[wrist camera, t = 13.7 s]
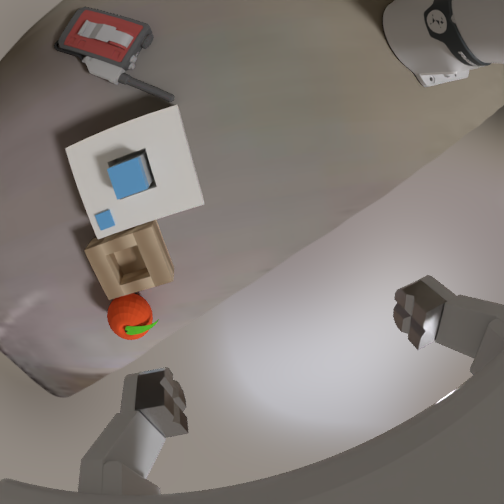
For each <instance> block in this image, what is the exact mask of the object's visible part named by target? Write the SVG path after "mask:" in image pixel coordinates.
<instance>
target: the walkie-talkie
mask: <svg viewBox="0 0 504 504" xmlns="http://www.w3.org/2000/svg"><path fill="white" fill-rule="evenodd" d="M152 40H153V35H152V31H151V29H150V26H149V25H148V24H146V23H143V22H140V21H137V20H134V19H131V18H127V17H124V16H118V15H115V14H112V13H108V12H105V11H102V10H98V9H97V10H96V9H92V8H89V7H83V8H80V9H78V10H77V11H76V13H75V14H74V16H73V17H72V19H71V20H70V22H69V23H68V25H67V27H66V28H65V30H64V31H63V33H62V35H61V36H60V38H59V40H58V41H57V42H56V43H55V45H54V48H55V49H56V50H58V51H60V52H64V53H67V54H71V55H74V56H77V57H79V58H80V60H82V62H83V63H85V64H86V65H87V68H88V70H89V72H90V74H92V75H94V76H97V77H100V78H103V79H105V80H108V81H109V82H110V83H112V84H115V85H118V83H119V82H120V83H122V84H128V85H131V86H133V87H136V88H138V89H140V90H143V91H145V92H148V93H150V94H152V95H155V96H157V97H159V98H161V99H164V100H166V101H168V102H172V101H173V100H174V95H173V94H170V93H168V92H166V91H163V90H161V89H159V88H156V87H154V86H152V85H149V84H147V83H144V82H142V81H139V80H137V79H134V78H132V77H131V76H130V75H128V74H125V73H124V72H125V71H126V70H129V69H132V70H133V69H134V68H135V65H136V64H134V62H135V61H136V59H137V56H138V54H139V52H140V51H141V49H142V48H144V49H146V48H147V47H149V45H150V44H151V42H152ZM58 45H59V46H60V48H62V49H60V48H58ZM81 55H82V56H81ZM83 56H86V57H85V58H83Z"/></svg>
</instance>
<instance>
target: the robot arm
mask: <svg viewBox="0 0 504 504" xmlns="http://www.w3.org/2000/svg"><path fill="white" fill-rule="evenodd" d="M383 27H384V32H385V35H386V38H387V40H388V43H389V45H390V47H391V48H392V50H393V52H394V53H395V55H396V56H397V57H398V59H399V60H400V61H401V62H402V63H403V64H404V65H405V66H406V67H408V68H409V69H410V70H411V71H412V72H413V73H414V74H415V75H416V77H417V78H418V80H419V82H420V83H421V84H422V85H423V86H424V87H428V86H433V85H437V84H441V83H445V82H450V81H454V80H459V79H463V78H467V77H468V74H469V70H470V69H477V68H479V67H482V66H487V65H490V64H491V63H503V64H504V0H394V1H393V2H392V3H391V4H389V5H388V6H387V7H386V9H385V11H384V14H383ZM395 300H396V301H397V304H396V306H395V307H394V312H393V313H394V314H393V317H394V320H395V323H396V325H397V327H398V328H399V329H400V331H401V332H404V333H408V339H409V341H410V342H411V343H412V344H413V345H414V346H415V347H416V349H417V350H419V349H421V348H423V347H425V346H427V345H429V344H430V343H432V342H434V341H435V342H437V343H439V344H441V345H444V346H446V347H448V348H451V349H453V350H455V351H458V352H460V353H463V354H465V355H468V356H470V357H472V358H474V361H473V363H472V365H471V368H470V372H471V373H472V374H473V376H472V377H471V378H469V379H468V380H467V381H466V382H464V383H463V384H462V385H460V386H459V387H458V388H456V389H455V390H454V391H452V392H451V393H449V394H448V395H447V396H445V397H443V398H442V399H440V400H439V401H438V402H436V403H434V404H433V405H431V406H430V407H429V408H427V409H425V410H424V411H422V412H420V413H419V414H417V415H416V416H414V417H412V418H411V419H409V420H407V421H405V422H403V423H402V424H400V425H398V426H396V427H394V428H392V429H391V430H389V431H387V432H385V433H383V434H381V435H379V436H377V437H375V438H373V439H371V440H369V441H367V442H365V443H362V444H360V445H358V446H356V447H354V448H351V449H349V450H347V451H344V452H342V453H340V454H337V455H335V456H332V457H329V458H327V459H324V460H322V461H319V462H316V463H313V464H310V465H308V466H305V467H302V468H299V469H296V470H292V471H289V472H286V473H282V474H279V475H275V476H272V477H268V478H264V479H260V480H256V481H252V482H247V483H243V484H238V485H233V486H227V487H222V488H216V489H209V490H202V491H195V492H186V493H175V494H163V495H162V494H161V491H160V488H159V487H158V486H157V485H155V484H153V483H151V482H150V481H148V480H147V479H146V478H147V476H148V474H149V472H150V470H151V468H152V466H153V464H154V462H155V460H156V458H157V456H158V454H159V452H160V450H161V448H162V446H163V444H164V442H165V439H166V437H172V436H177V435H182V434H187V433H188V423H187V417H186V416H185V414H184V413H183V411H184V410H185V408H186V400H185V396H184V392H183V390H182V388H181V386H180V384H179V383H178V382H177V381H175V380H173V374H172V372H171V371H170V369H169V368H167V367H165V368H160V369H155V370H150V371H144V372H140V373H135V374H129V375H127V376H126V377H125V379H124V387H123V393H122V401H121V410H120V413H117V414H116V415H115V416H114V417H113V419H112V420H111V422H110V423H109V424H108V425H107V427H106V428H105V429H104V431H103V432H102V433H101V435H100V436H99V437H98V438H97V440H96V441H95V442H94V444H93V445H92V446H91V448H90V449H89V450H88V452H87V453H86V454H85V456H84V457H83V458H82V459H81V466H80V476H79V488H78V492H72V491H65V490H58V489H52V488H47V487H42V486H37V485H32V484H28V483H23V482H19V481H16V480H12V479H2V480H1V481H0V504H504V305H502V304H498V303H494V302H489V301H484V300H480V299H476V298H472V297H468V296H463V295H458V296H456V295H455V294H454V293H452V292H451V291H450V290H449V289H447V288H446V287H445V286H444V285H442V284H441V283H440V282H438V281H437V280H436V279H435V278H433V277H432V276H429V275H427V276H425V277H423V278H421V279H419V280H418V281H415V282H413V283H411V284H409V285H407V286H404V287H402V288H400V289H398V290H397V291H396V293H395Z"/></svg>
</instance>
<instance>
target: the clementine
mask: <svg viewBox="0 0 504 504" xmlns="http://www.w3.org/2000/svg"><path fill="white" fill-rule="evenodd" d="M107 318H108V322H109V325H110V327H111V329H112V330H113V331H114V333H115V334H117V335H118V336H119V337H121V338H124V339H127V340H133V339H138V338H141V337H142V336H144V335H145V334H146V333H147V332H148V331H149V329H150V328H152V327H153V326H154V325H155V324H156V323H157V321H158V320H159V319H158V320H157V321H156V322H155V323H152V320H153V318H152V310H151V308H150V306H149V304H148V303H147V301H146V300H145V299H144V298H143V297H141V296H139V295H137V294H134V293H131V294H128V295H125V296H121V297H118V298H115V299H114V300H112V302H111V304H110V306H109V308H108V314H107Z"/></svg>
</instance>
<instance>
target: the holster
mask: <svg viewBox="0 0 504 504" xmlns="http://www.w3.org/2000/svg"><path fill="white" fill-rule="evenodd" d="M84 251H85V253H86V255H87V258H88V260H89V262H90V264H91V266H92V268H93V270H94V272H95V274H96V276H97V278H98V280H99V282H100V284H101V286H102V288H103V290H104V292H105V294H106V296H107V298H108V299H109V300H111V299H114V298H118V297H121V296H125V295H128V294H131V293H135V292H138V291H142V290H145V289H148V288H152V287H155V286H159V285H162V284H165V283H169V282H172V281H173V277H174V266H173V263H172V261H171V258H170V255H169V253H168V250H167V247H166V245H165V242H164V239H163V237H162V234H161V231H160V229H159V226H158V223H157V220H153V221H150V222H147V223H144V224H141V225H138V226H135V227H132V228H129V229H126V230H123V231H120V232H118V233H115V234H112V235H109V236H106V237H104V238H101V239H97V237H96V238H93V239H92V240H91V242H90V243H89V244H88V246H87V247H86V248H85V250H84Z"/></svg>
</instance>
